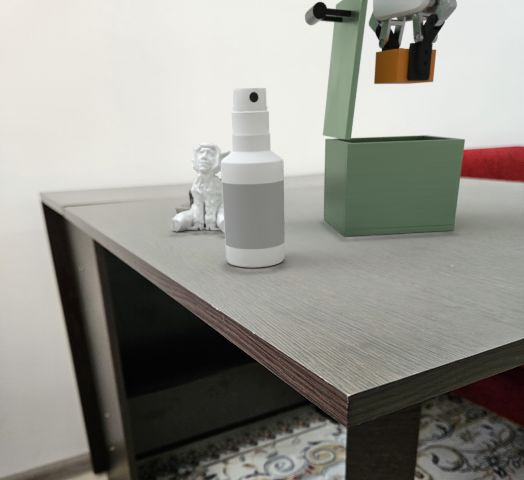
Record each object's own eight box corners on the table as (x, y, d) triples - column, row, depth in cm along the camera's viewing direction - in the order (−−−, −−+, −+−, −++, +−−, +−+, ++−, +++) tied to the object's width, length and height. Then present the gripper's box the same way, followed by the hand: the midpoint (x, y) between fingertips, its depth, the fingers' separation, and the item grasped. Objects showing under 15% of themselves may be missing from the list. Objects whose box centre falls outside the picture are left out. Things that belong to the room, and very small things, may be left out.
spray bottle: (233, 271, 57) (224, 87, 50) (220, 256, 63) (210, 90, 56) (292, 264, 59) (291, 86, 51) (274, 251, 65) (271, 89, 57)
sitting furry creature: (168, 232, 77) (159, 144, 72) (188, 220, 84) (182, 141, 79) (230, 233, 75) (225, 143, 70) (245, 221, 82) (242, 139, 77)
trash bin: (418, 214, 84) (426, 135, 79) (453, 230, 73) (465, 139, 68) (323, 219, 82) (325, 138, 77) (344, 236, 71) (347, 143, 66)
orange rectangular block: (409, 83, 70) (411, 53, 69) (433, 81, 67) (436, 49, 65) (373, 83, 68) (375, 52, 66) (396, 82, 64) (399, 48, 63)
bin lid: (341, 5, 71) (301, 1, 70) (369, -16, 59) (321, -21, 58) (327, 135, 77) (290, 133, 77) (350, 139, 66) (307, 137, 65)
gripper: (502, -121, 54) (476, 77, 62) (393, -73, 68) (383, 84, 75) (449, -133, 51) (429, 77, 59) (346, -80, 65) (341, 85, 72)
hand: (403, 79), depth 67 cm, fingers closed on orange rectangular block, 4 cm apart
